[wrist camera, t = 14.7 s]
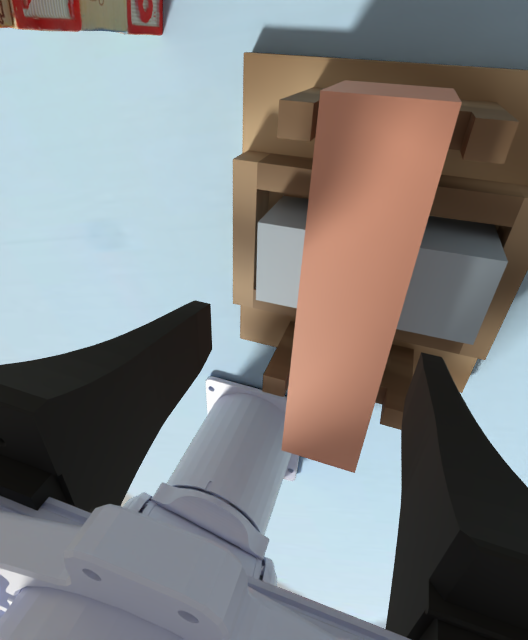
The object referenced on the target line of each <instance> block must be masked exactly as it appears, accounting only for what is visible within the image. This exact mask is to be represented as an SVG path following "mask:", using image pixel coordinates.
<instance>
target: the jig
mask: <svg viewBox="0 0 528 640" xmlns="http://www.w3.org/2000/svg"><path fill="white" fill-rule="evenodd" d="M344 80H349V81H362V82H375V83H388V84H401V85H414V86H427V87H440V88H453V89H454V90H455V91H456V93H457V95H458V97H459V98H460V100H461V102H462V104H461V107H460V111H459V114H458V118H457V121H456V124H455V128H454V131H453V135H452V138H451V142H450V145H449V149H448V152H447V156H446V159H445V162H444V166H443V169H442V173H441V176H440V180H439V183H438V187H437V190H436V194H435V197H434V200H433V204H432V207H431V211H430V214H429V216H435V217H442V218H449V219H456V220H464V221H471V222H478V223H485V224H493V225H495V228H496V230H497V233H498V236H499V239H500V241H501V244H502V247H503V250H504V252H505V255H506V258H507V260H508V263H507V265H506V268H505V270H504V272H503V275H502V277H501V280H500V282H499V284H498V287H497V289H496V291H495V294H494V296H493V299H492V301H491V303H490V306H489V308H488V311H487V313H486V315H485V318H484V320H483V322H482V325H481V327H480V330H479V332H478V334H477V337H476V339H475V342H474V344H473V345H471V344H466V343H461V342H456V341H452V340H447V339H442V338H437V337H432V336H427V335H423V334H418V333H413V332H408V331H403V330H399V329H396V332H395V335H394V339H393V342H392V346H391V349H390V353H389V356H388V359H387V363H386V366H385V370H384V373H383V377H382V380H381V384H380V387H379V391H378V394H377V397H376V401H375V403H379V404H382V411H381V419H380V424H382V425H386V426H389V427H393V428H396V429H400V430H401V428H402V418H403V410H404V403H405V397H406V395H407V392H408V389H409V386H410V383H411V380H412V377H413V374H414V372H415V369H416V366H417V363H418V360H419V357H420V354H421V352H422V353H427V354H431V355H435V356H440V357H442V358H443V360H444V361H445V363H446V366H447V368H448V370H449V372H450V374H451V376H452V379H453V381H454V383H455V385H456V387H457V389H458V390H459V392H461V393H462V392H463V389H464V387H465V385H466V383H467V381H468V379H469V376H470V374H471V372H472V370H473V368H474V365H475V363H476V361H477V359H482V360H485V359H486V357H487V355H488V353H489V350H490V348H491V346H492V344H493V342H494V340H495V338H496V336H497V334H498V331H499V329H500V327H501V325H502V323H503V321H504V319H505V317H506V314H507V312H508V310H509V308H510V306H511V304H512V302H513V300H514V298H515V295H516V293H517V291H518V289H519V287H520V285H521V283H522V281H523V279H524V276H525V274H526V272H527V270H528V70H520V69H505V68H489V67H473V66H458V65H442V64H427V63H411V62H395V61H380V60H364V59H348V58H333V57H317V56H302V55H286V54H270V53H255V52H246V53H244V75H243V154H241V155H239V156H237V157H236V158H234V159H233V304H238V305H241V316H240V338H241V339H245V340H249V341H253V342H257V343H261V344H265V345H270V346H274V347H277V349H276V351H275V353H274V355H273V357H272V359H271V361H270V363H269V365H268V367H267V368H266V370H265V372H264V374H263V388H262V392H266V393H270V394H273V395H277V396H280V397H284V396H285V393H286V391H287V388H288V385H289V375H290V366H291V357H292V348H293V339H294V329H295V320H296V311H297V308H293V307H288V306H283V305H278V304H274V303H269V302H264V301H259V300H256V274H257V232H258V222H259V220H260V219H261V218H262V217H263V216H264V215H265V214H266V213H267V212H268V211H269V210H270V209H271V208H272V207H273V206H274V205H275V204H276V203H277V202H278V201H279V200H280V199H281V198H282V197H283V196H290V197H297V198H304V199H309V191H310V182H311V173H312V163H313V154H314V145H315V136H316V127H317V117H318V108H319V99H320V90H323V89H325V88H328V87H330V86H332V85H335V84H337V83H340V82H342V81H344Z"/></svg>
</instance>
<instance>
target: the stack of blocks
mask: <svg viewBox="0 0 528 640" xmlns="http://www.w3.org/2000/svg"><path fill="white" fill-rule="evenodd" d="M7 27H10V28H15V29H22V30H40V31H73V32H78V31H80V30H81V31H111V32H118V33H122V34H132V35H162V33H163V0H0V28H7Z"/></svg>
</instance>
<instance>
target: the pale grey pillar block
mask: <svg viewBox="0 0 528 640" xmlns="http://www.w3.org/2000/svg"><path fill="white" fill-rule="evenodd" d="M308 200H309V199H304V198H297V197H290V196H283V197H282V198H281V199H280V200H279V201H278V202H277V203H276V204H275V205H274V206H273V207H272V208H271V209H270V210H269V211H268V212H267V213H266V214H265V215H264V216H263V217H262V218H261V219H260V220H259V222H258V232H257V274H256V300H259V301H264V302H269V303H274V304H278V305H283V306H288V307H293V308H297V302H298V292H299V283H300V274H301V265H302V256H303V246H304V237H305V228H306V219H307V209H308ZM507 263H508V260H507V258H506V255H505V252H504V250H503V247H502V244H501V241H500V239H499V236H498V233H497V230H496V228H495V225H493V224H485V223H478V222H471V221H464V220H456V219H449V218H442V217H435V216H429V218H428V221H427V225H426V228H425V232H424V235H423V239H422V242H421V245H420V249H419V252H418V256H417V259H416V263H415V266H414V270H413V273H412V277H411V280H410V283H409V287H408V290H407V294H406V297H405V301H404V304H403V308H402V311H401V315H400V318H399V321H398V325H397V328H396V329H399V330H403V331H408V332H413V333H418V334H423V335H427V336H432V337H437V338H442V339H447V340H452V341H456V342H461V343H466V344H471V345H473V344H474V342H475V339H476V337H477V334H478V332H479V330H480V327H481V325H482V322H483V320H484V318H485V315H486V313H487V311H488V308H489V306H490V303H491V301H492V299H493V296H494V294H495V291H496V289H497V287H498V284H499V282H500V280H501V277H502V275H503V272H504V270H505V268H506V265H507Z"/></svg>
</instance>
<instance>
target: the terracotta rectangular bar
mask: <svg viewBox="0 0 528 640" xmlns="http://www.w3.org/2000/svg"><path fill="white" fill-rule="evenodd" d="M461 104H462V102H461V100H460V98H459V97H458V95H457V93H456V91H455V90H454V89H453V88H440V87H427V86H414V85H401V84H388V83H375V82H362V81H349V80H344V81H342V82H340V83H337V84H335V85H332V86H330V87H328V88H325V89H323V90H320V99H319V108H318V117H317V127H316V136H315V145H314V154H313V163H312V173H311V182H310V191H309V200H308V209H307V219H306V228H305V237H304V246H303V256H302V265H301V274H300V283H299V292H298V302H297V311H296V320H295V329H294V339H293V348H292V357H291V366H290V375H289V385H288V394H287V403H286V412H285V421H284V431H283V440H282V449H281V450H282V451H286V452H289V453H292V454H295V455H299V456H302V457H305V458H308V459H312V460H315V461H318V462H321V463H324V464H328V465H331V466H334V467H337V468H341V469H344V470H347V471H350V472H354V473H355V470H356V467H357V463H358V460H359V456H360V453H361V449H362V446H363V442H364V439H365V436H366V432H367V429H368V425H369V422H370V418H371V415H372V411H373V408H374V404H375V401H376V397H377V394H378V391H379V387H380V384H381V380H382V377H383V373H384V370H385V366H386V363H387V359H388V356H389V353H390V349H391V346H392V342H393V339H394V335H395V332H396V328H397V325H398V321H399V318H400V315H401V311H402V308H403V304H404V301H405V297H406V294H407V290H408V287H409V283H410V280H411V277H412V273H413V270H414V266H415V263H416V259H417V256H418V252H419V249H420V245H421V242H422V239H423V235H424V232H425V228H426V225H427V221H428V218H429V214H430V211H431V207H432V204H433V200H434V197H435V194H436V190H437V187H438V183H439V180H440V176H441V173H442V169H443V166H444V162H445V159H446V156H447V152H448V149H449V145H450V142H451V138H452V135H453V131H454V128H455V124H456V121H457V118H458V114H459V111H460V107H461Z"/></svg>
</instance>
